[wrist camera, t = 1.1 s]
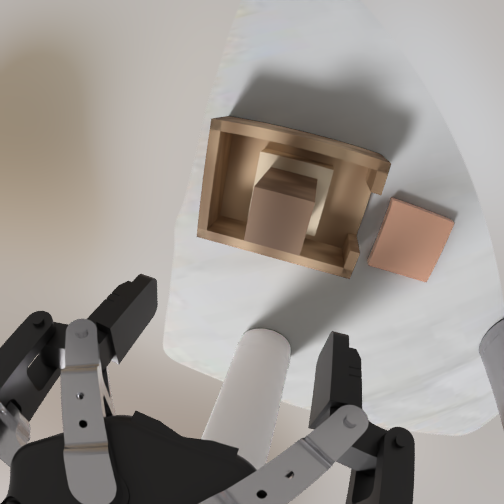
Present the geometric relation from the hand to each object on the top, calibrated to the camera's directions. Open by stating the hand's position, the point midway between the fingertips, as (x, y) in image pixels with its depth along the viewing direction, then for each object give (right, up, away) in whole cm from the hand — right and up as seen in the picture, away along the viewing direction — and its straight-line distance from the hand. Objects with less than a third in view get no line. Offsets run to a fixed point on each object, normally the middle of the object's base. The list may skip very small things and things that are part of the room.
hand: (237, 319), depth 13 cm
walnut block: (+4, +8, +15) cm, 18 cm away
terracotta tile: (+18, +4, +17) cm, 26 cm away
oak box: (+5, +10, +18) cm, 21 cm away
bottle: (+3, -11, +30) cm, 32 cm away
